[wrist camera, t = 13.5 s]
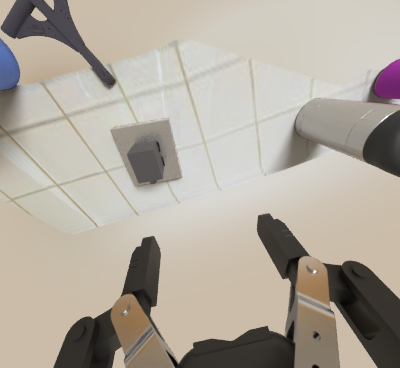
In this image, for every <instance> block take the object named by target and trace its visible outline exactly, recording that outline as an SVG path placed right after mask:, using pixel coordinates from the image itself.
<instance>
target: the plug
mask: <svg viewBox="0 0 400 368" xmlns="http://www.w3.org/2000/svg"><path fill="white" fill-rule="evenodd" d="M127 157H128V159H129V161H130V164H131V166H132V169H133V171H134V174H135V176H136V178H137V181H138V183H145V182H150V183H151V184H154V183H156V182H157V180H161V179H163V172H164V164H163V161H162V157H161V154H160V150H159V147H158V143H157V140H155V141H149V142H144V143H138V144H134V145H133V146H132V147H131V149H130V150H129V152H128V153H127Z"/></svg>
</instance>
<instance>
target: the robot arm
mask: <svg viewBox="0 0 400 368" xmlns="http://www.w3.org/2000/svg"><path fill="white" fill-rule="evenodd" d="M295 128H296V132H297V133H298V134H299V135H300V136H302V137H304V138H307V139H309V140H311V141H314V142H316V143H319V144H321V145H324V146H326V147H329V148H331V149H334V150H336V151H339V152H341V153H344V154H346V155H348V156H351V157H353V158H356V159H359V160H361V161H363V162H366V163H368V164H371V165H373V166H376V167H378V168H380V169H382V170H384V171H386V172H388V173H391V174H393V175H396V176H398V177H400V105H397V104H384V103H373V102H361V101H350V100H338V99H327V98H317V99H314V100H312V101H310V102H308V103H307V104H306V105H305V106H304V107H303V108H302V109H301V111H300V112H299V114H298V116H297V119H296V123H295ZM257 232H258V235H259V237H260V239H261V241H262V243H263V244H264V246H265V248H266V250H267V252H268V253H269V255H270V257H271V259H272V261H273V262H274V264H275V266H276V268H277V270H278V272H279V273H280V275H281V277H282V279H286V278H289V280H290V282H291V287H290V297H289V307H288V316H287V321H286V327H285V336H283V335H281V334H279V333H276V332H273V331H269V329H268V326H265V327H261V328H256V329H252V330H249V331H247V332H246V333H244V334H243V335H241V336H240V337H238V338H237V339H235V340H233V341H225V340H217V339H208V340H204V341H199V342H195V343H193V347H194V348H193V349H191V350H190V351H189V352H188V353H187V354H186V355H185V356H184V357H183V358H182V360H181V361H180V362H179V363H178V361H177V359H176V357H175V356H174V354H173V352H172V351H171V349H170V348H169V347H168V345H167V343H166V342H165V340H164V339H163V337H162V335H161V333H160V331H159V330H158V328H157V326H156V325H155V323H154V321H153V320H152V318H151V316H150V312H151V307H154V306H156V304H157V293H158V281H159V269H160V257H161V253H160V248H159V246H158V244H157V241H156V240H155V237H154V236H151V237H146V238H143V240H142V244H141V246H140V247H136V249H135V250H134V252H133V254H132V257H131V261H130V265H129V269H128V272H127V276H126V280H125V284H124V288H123V292H122V295H121V297H120V298H119V299H118V300H117V301H116V303H115V304H114V306H113V307H112V308H111V309H110V310H108V311H106V312H105V313H103V314H101V315H99V316H98V317H96V318H94V319H93V318H91V317H84V318H82V319H80V320H79V321H77V322H76V323H75V324H74V325H73V326H72V327H71V329H70V330H69V331H68V333H67V335H66V337H65V340H64V342H63V345H62V347H61V350H60V352H59V355H58V357H57V360H56V363H55V365H54V368H112V365H113V360H114V355H115V351H116V350H117V349H119V348H120V347H122V348H123V351H124V354H125V359H124V363H125V367H126V368H340V362H339V351H338V342H337V330H336V320H335V315H334V312H333V311H331V309H330V301H331V302H334V303H335V304H336V306H337V308H338V309H339V310H340V312H341V314H342V315H343V317H344V318H345V320H346V321H347V323H348V324H349V326H350V327H351V329H352V330H353V332H354V333H355V334H356V336H357V338H358V339H359V340H360V342H361V343H362V345H363V346H364V348H365V349H366V351H367V352H368V354H369V355H370V357H371V358H372V360H373V361H374V363H375V364H376V366H377V367H378V368H400V299H399V298H398V297H397V296H396V295H395V294H394V293H393V292H392V291H391V290H390V289H389V288H388V287H387V286H386V285H385V284H384V283H383V282H382V281H381V280H380V279H379V278H378V277H377V276H376V275H375V274H374V273H373V272H372V271H371V270H370V269H369V268H368V267H366V266H364V265H363V264H360V263H358V262H355V261H346V262H344V263H343V265H342V266H341V265H332V264H325V263H322V262H320V261H319V260H318V259H315V258H313V257H311V256H309V254H308V253H307V252H306V251H305V249H304V248H303V247H302V245H301V244H300V243H299V242H298V240H297V239H296V238H295V236H293V234H292V233H291V231H289V229H288V228H287V226H286V225H285V224H284V223H283V222H281V221H280V220H278V219H275V220H274V219H273V218H272V216H271V215H270V214H263V215H259V216H258V223H257Z"/></svg>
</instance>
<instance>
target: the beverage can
mask: <svg viewBox="0 0 400 368" xmlns="http://www.w3.org/2000/svg"><path fill="white" fill-rule="evenodd" d="M374 90H375V94H376V96H378V97H380V98H389V99H400V59H398V60H396V61H394V62H392V63H391V64H389V65H388V66H387V67H386V68H385V69H384V70H383V71H382V72H381V73H380V75H379V76H378V78H377V80H376V82H375V86H374Z"/></svg>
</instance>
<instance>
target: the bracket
mask: <svg viewBox="0 0 400 368" xmlns="http://www.w3.org/2000/svg"><path fill="white" fill-rule="evenodd" d="M35 7H37V8H38V9H39V10H40V11H41V12H42V13H43V14H44V15H45V16H46V18H47V20H46V21H38V20H36V19H35V18H33V17H32V16H31V13H32V12H33V10H34V8H35ZM68 18H69V19H68ZM1 30H2V31H3V32H4V33H6V34H7V35H8V36H10V37H12V38H14V39H15V38H16V37H17V38H18V39H21V38H25V37H29V36H45V37H50V38H54V39H56V40H58V41H61V42H63V43H64V44H66V45H68V46H70V47H71V48H72V49H74V50H76V51H77V52H80V54H81V55H82V56H83V57H84V58H85V59H86V60H87V62H88V63H89V64H90V65H91V66H92V67H93V69H94V70H95V71H96V72H97V73H98V74H99V76H100V77H101V78H102V79H103V80H104V81H105V82H106V83H108V84H109V85H112V84H113V83H114V81H115V79H114V77H113V76H112V75H111V74H110V73H109V72H108V71H107V70H106V69H105V68H104V66H103V64H102V63H101V62H100V61H99V60H98V59H97V58H96V57H95V56H94V55H93V53H92V52H91V51H90V50H89V49H88V48H87V47H86V46H85V44H84V42H83V40H82V38H81V37H80V35H79V33H78V31H77V29H76V27H75V25H74V22H73V20H72V18H71V15H70V11H69V7H68V2H67V0H54V10H52V8H51V7H50V6H49V5H48V4H47V3H46V2H45V1H44V0H16V2H15V4H14V5H13V7H12V9H11V11H10V12H9V14H8V15H7V17H6V19H5V21H4V22H3V24H2V26H1Z"/></svg>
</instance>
